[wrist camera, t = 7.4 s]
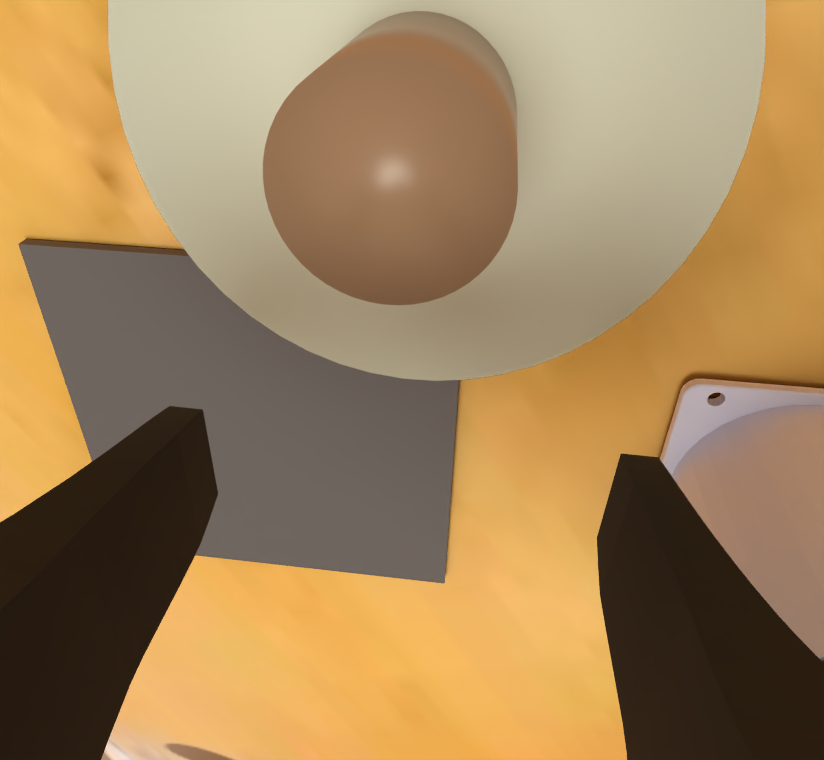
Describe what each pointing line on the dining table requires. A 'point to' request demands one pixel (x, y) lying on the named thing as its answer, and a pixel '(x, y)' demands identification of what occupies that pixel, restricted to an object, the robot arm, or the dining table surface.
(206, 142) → the lid
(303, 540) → the mat
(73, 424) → the dining table surface
